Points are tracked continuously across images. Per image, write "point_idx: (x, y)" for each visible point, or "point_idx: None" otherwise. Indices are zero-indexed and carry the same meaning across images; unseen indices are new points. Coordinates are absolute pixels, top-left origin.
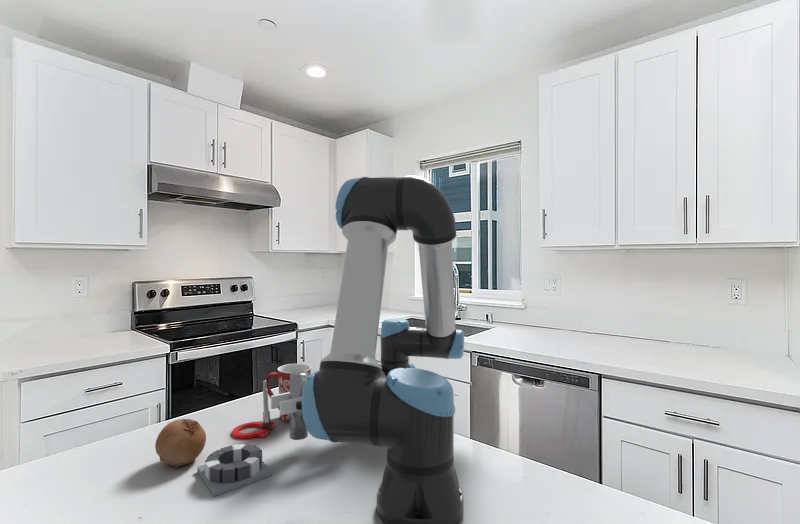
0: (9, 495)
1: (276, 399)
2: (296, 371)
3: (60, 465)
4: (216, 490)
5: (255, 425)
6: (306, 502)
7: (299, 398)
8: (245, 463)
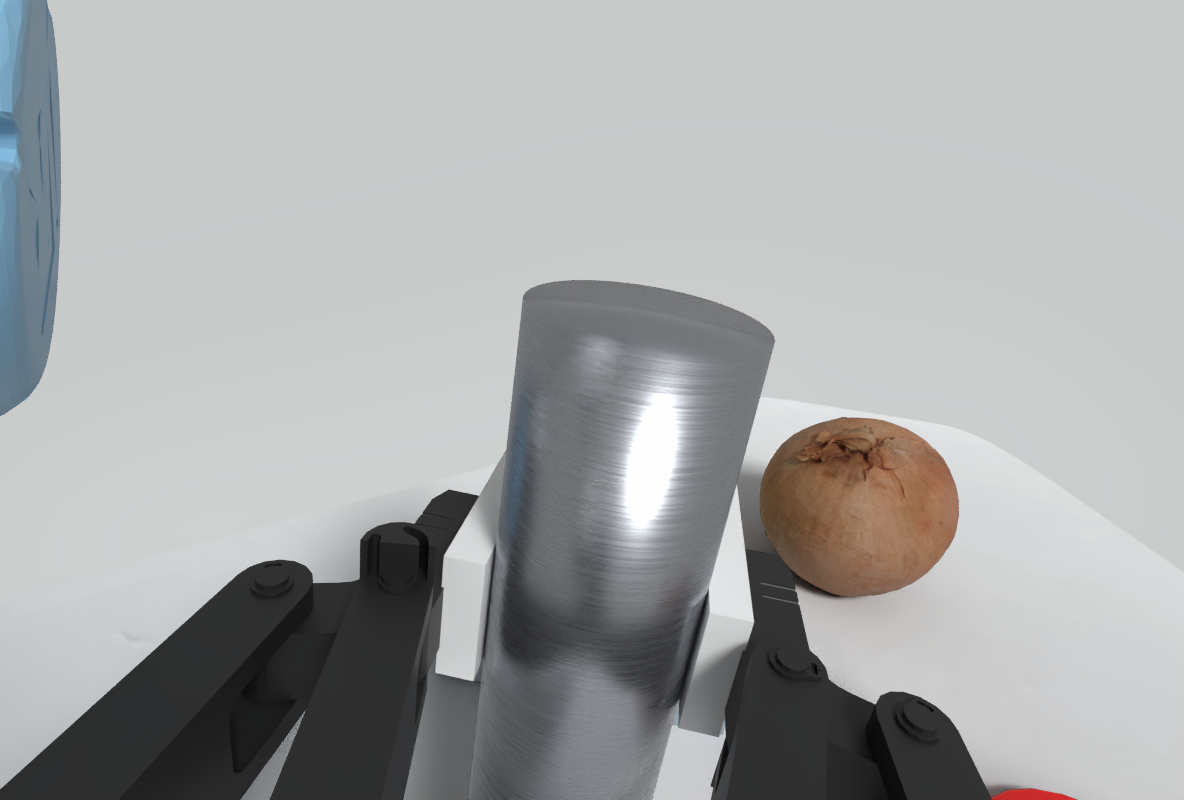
0: (848, 410)
1: None
2: (772, 341)
3: (966, 462)
4: None
5: None
6: (120, 626)
7: (484, 490)
8: None
